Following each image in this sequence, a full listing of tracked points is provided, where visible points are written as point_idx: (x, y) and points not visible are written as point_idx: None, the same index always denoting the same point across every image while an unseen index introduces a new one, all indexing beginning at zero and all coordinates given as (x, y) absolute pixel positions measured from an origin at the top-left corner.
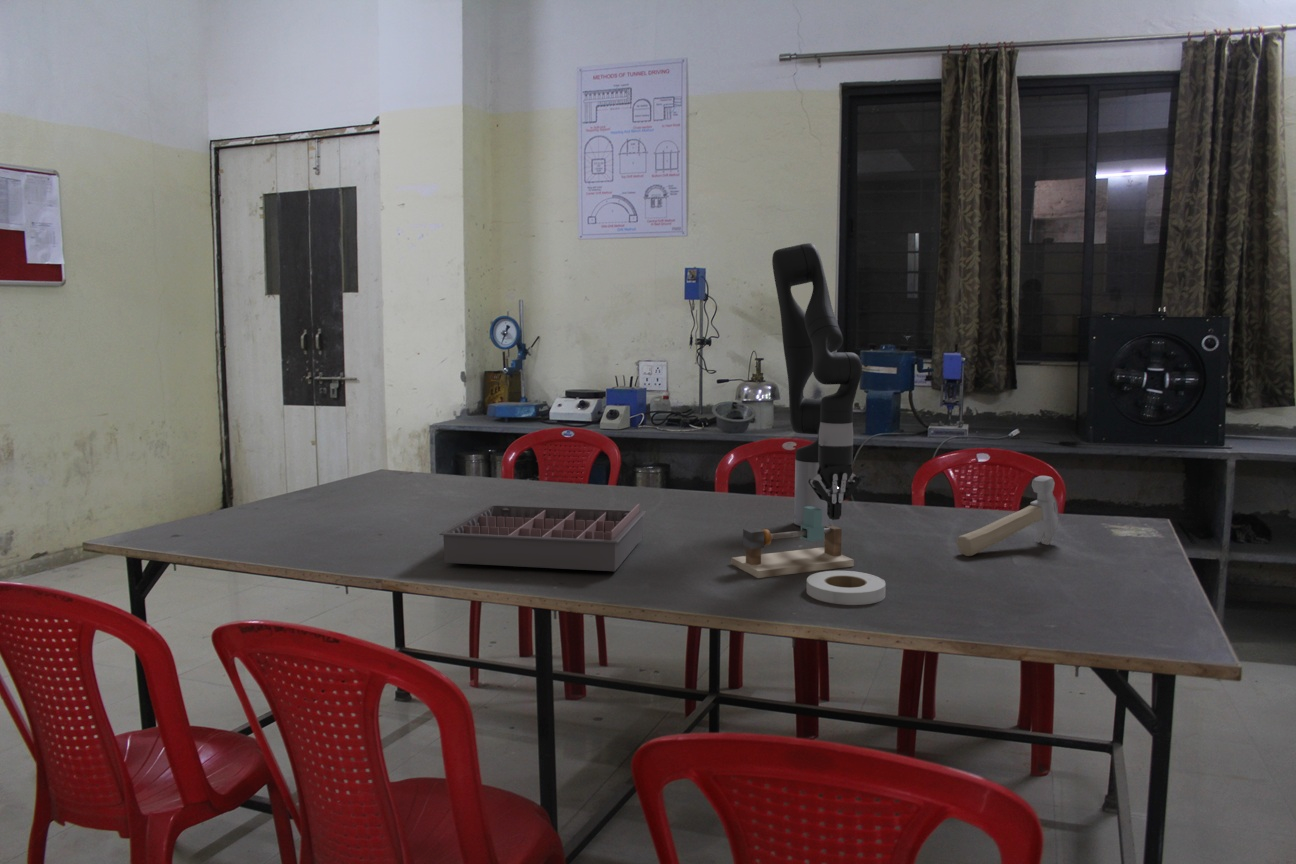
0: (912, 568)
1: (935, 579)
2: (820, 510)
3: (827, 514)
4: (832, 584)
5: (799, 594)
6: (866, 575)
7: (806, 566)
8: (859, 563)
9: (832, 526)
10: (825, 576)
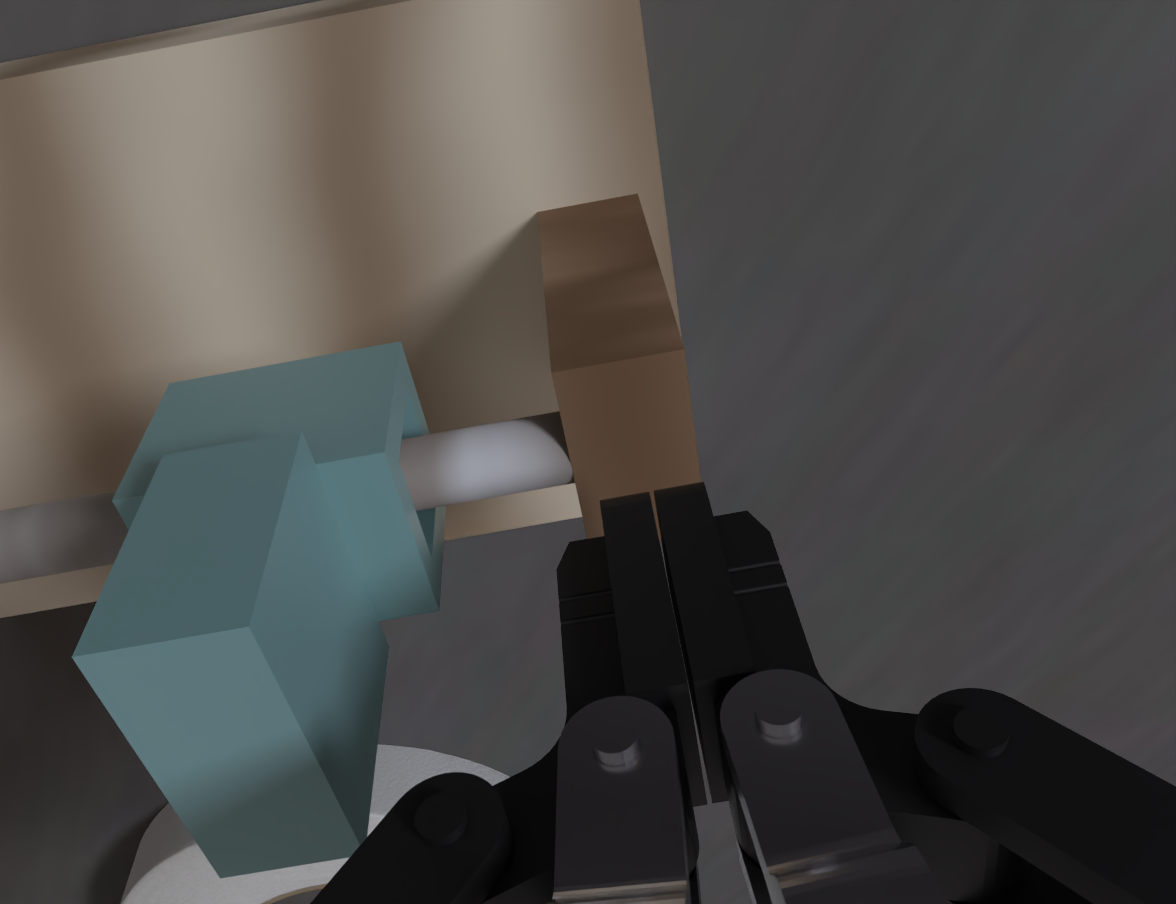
0: (1091, 568)
1: None
2: (335, 855)
3: (558, 576)
4: None
5: (83, 885)
6: None
7: None
8: (793, 386)
9: (649, 410)
10: (259, 887)
